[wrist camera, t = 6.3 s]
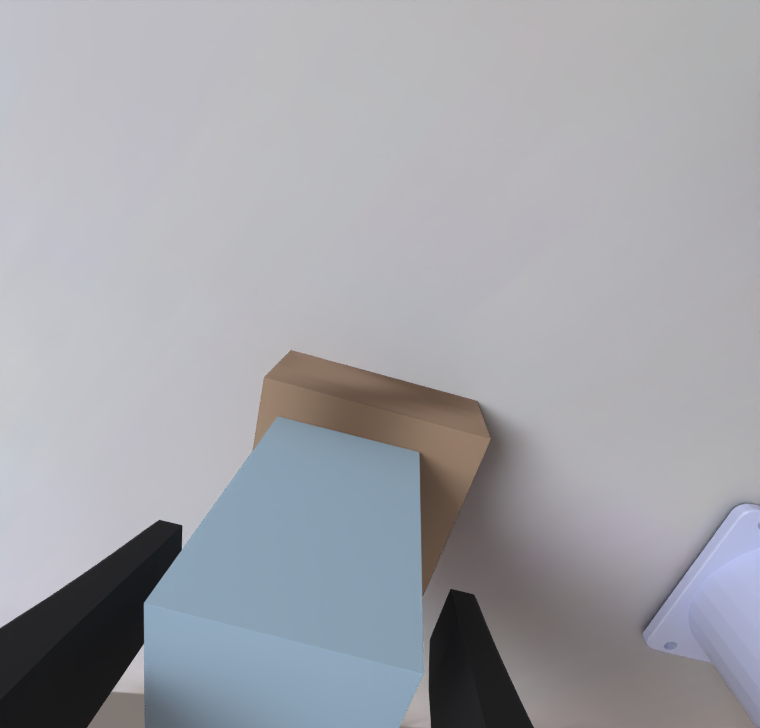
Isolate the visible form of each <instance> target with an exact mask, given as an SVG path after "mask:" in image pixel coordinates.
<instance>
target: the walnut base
mask: <svg viewBox="0 0 760 728" xmlns="http://www.w3.org/2000/svg"><path fill="white" fill-rule="evenodd" d="M277 416H278V417H282V418H286V419H290V420H294V421H298V422H302V423H306V424H310V425H314V426H318V427H322V428H326V429H330V430H334V431H338V432H342V433H346V434H349V435H353V436H357V437H361V438H365V439H369V440H373V441H377V442H381V443H385V444H389V445H393V446H397V447H401V448H405V449H409V450H413V451H417V452H419V459H420V511H421V563H422V597H423V595H424V592H425V590H426V588H427V585H428V583H429V581H430V578H431V576H432V574H433V572H434V569H435V567H436V565H437V562H438V560H439V558H440V555H441V553H442V551H443V548H444V546H445V544H446V541H447V539H448V537H449V535H450V532H451V530H452V528H453V525H454V523H455V521H456V518H457V516H458V514H459V511H460V509H461V507H462V505H463V502H464V500H465V498H466V495H467V493H468V491H469V488H470V486H471V484H472V481H473V479H474V477H475V474H476V472H477V470H478V468H479V465H480V463H481V461H482V458H483V456H484V454H485V451H486V449H487V447H488V444H489V442H490V440H491V438H490V435H489V433H488V430H487V427H486V424H485V422H484V419H483V416H482V413H481V411H480V408H479V405H478V402H477V401H475V400H472V399H468V398H464V397H461V396H457V395H453V394H450V393H446V392H442V391H439V390H435V389H431V388H428V387H424V386H420V385H417V384H413V383H409V382H406V381H402V380H398V379H395V378H391V377H387V376H384V375H380V374H376V373H373V372H369V371H365V370H362V369H358V368H354V367H351V366H347V365H343V364H340V363H336V362H332V361H329V360H325V359H321V358H318V357H314V356H311V355H307V354H303V353H300V352H296V351H292V350H291V351H290V352H289V353H288V354H287V355H286V356H285V357H284V358H283V359H282V360H281V361H280V362H279V363H278V364H277V365H276V366H275V367H274V368H273V369H272V370H271V371H270V372H269V373H268V374H267V375H266V376H265V377H264V381H263V388H262V394H261V401H260V407H259V414H258V420H257V427H256V433H255V439H254V446H253V450H254V449H255V447H256V446H257V444H258V443H259V442H260V440H261V439H262V437H263V436H264V435H265V433H266V432H267V430H268V429H269V428H270V426H271V425H272V423H273V422H274V421H275V419H276V418H277Z"/></svg>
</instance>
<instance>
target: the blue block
mask: <svg viewBox="0 0 760 728" xmlns="http://www.w3.org/2000/svg"><path fill="white" fill-rule="evenodd" d="M423 674H424V667H423V615H422V563H421V511H420V459H419V452H417V451H413V450H409V449H405V448H401V447H397V446H393V445H389V444H385V443H381V442H377V441H373V440H369V439H365V438H361V437H357V436H353V435H349V434H346V433H342V432H338V431H334V430H330V429H326V428H322V427H318V426H314V425H310V424H306V423H302V422H298V421H294V420H290V419H286V418H282V417H278V416H277V418H276V419H275V421H274V422H273V423H272V425H271V426H270V428H269V429H268V430H267V432H266V433H265V435H264V436H263V437H262V439H261V440H260V442H259V443H258V444H257V446H256V447H255V449H254V450H253V451H252V453H251V454H250V456H249V457H248V458H247V460H246V461H245V463H244V464H243V465H242V467H241V468H240V470H239V471H238V472H237V474H236V475H235V477H234V478H233V479H232V481H231V482H230V483H229V485H228V486H227V488H226V489H225V490H224V492H223V493H222V495H221V496H220V497H219V499H218V500H217V502H216V503H215V504H214V506H213V507H212V509H211V510H210V511H209V513H208V514H207V516H206V517H205V518H204V520H203V521H202V523H201V524H200V525H199V527H198V528H197V530H196V531H195V532H194V534H193V535H192V537H191V538H190V539H189V541H188V542H187V544H186V545H185V546H184V548H183V549H182V551H181V552H180V553H179V555H178V556H177V557H176V559H175V560H174V562H173V563H172V564H171V566H170V567H169V569H168V570H167V571H166V573H165V574H164V576H163V577H162V578H161V580H160V581H159V583H158V584H157V585H156V587H155V588H154V590H153V591H152V592H151V594H150V595H149V597H148V598H147V599H146V601H145V602H144V695H145V728H399V727H400V724H401V722H402V720H403V718H404V716H405V713H406V711H407V709H408V707H409V705H410V702H411V700H412V698H413V696H414V694H415V692H416V689H417V687H418V685H419V683H420V681H421V678H422V676H423Z"/></svg>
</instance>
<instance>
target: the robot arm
mask: <svg viewBox="0 0 760 728" xmlns="http://www.w3.org/2000/svg"><path fill="white" fill-rule="evenodd" d="M181 551H182V525H179V524H174V523H170V522H166V521H162V520H159V521H157V522H155V523H154V524H153V525H151V526H150V527H148V528H147V529H146V530H144V531H143V532H141V533H140V534H139V535H137V536H136V537H135V538H133V539H132V540H130V541H129V542H128V543H126V544H125V545H123V546H122V547H121V548H119V549H118V550H117V551H115V552H114V553H112V554H111V555H109V556H108V557H107V558H105V559H104V560H102V561H101V562H100V563H98V564H97V565H95V566H94V567H92V568H91V569H89V570H88V571H87V572H85V573H84V574H82V575H81V576H79V577H78V578H76V579H75V580H73V581H72V582H70V583H69V584H68V585H66V586H65V587H63V588H62V589H60V590H59V591H57V592H56V593H54V594H53V595H51V596H50V597H48V598H47V599H45V600H43V601H42V602H40V603H39V604H37V605H36V606H34V607H33V608H31V609H29V610H28V611H26V612H25V613H23V614H22V615H20V616H18V617H17V618H15V619H14V620H12V621H11V622H9V623H8V624H6V625H4V626H3V627H1V628H0V728H87V727H88V725H89V724H90V722H91V721H92V719H93V718H94V716H95V715H96V713H97V712H98V710H99V709H100V707H101V706H102V705H103V703H104V702H105V700H106V699H107V697H108V696H109V694H110V693H111V691H112V690H113V688H114V687H115V685H116V684H117V682H118V681H119V680H120V678H121V677H122V675H123V674H124V672H125V671H126V669H127V668H128V666H129V665H130V663H131V662H132V660H133V659H134V657H135V656H136V654H137V653H138V651H139V650H140V649H141V647H142V646H143V644H144V602H145V601H146V599H147V598H148V597H149V595H150V594H151V592H152V591H153V590H154V588H155V587H156V585H157V584H158V583H159V581H160V580H161V578H162V577H163V576H164V574H165V573H166V571H167V570H168V569H169V567H170V566H171V564H172V563H173V562H174V560H175V559H176V557H177V556H178V555H179V553H180V552H181ZM642 637H643V639H644V641H645V643H646V645H647V646H648V647H649V648H651V649H654V650H657V651H662V652H666V653H670V654H674V655H679V656H683V657H687V658H691V659H695V660H700V661H704V662H708V663H712V664H713V665H714V667H715V668H716V670H717V671H718V672H719V674H720V675H721V677H722V678H723V680H724V681H725V683H726V684H727V686H728V687H729V689H730V690H731V691H732V693H733V694H734V696H735V697H736V699H737V700H738V702H739V703H740V705H741V706H742V708H743V709H744V710H745V712H746V713H747V715H748V716H749V718H750V719H751V721H752V722H753V724H754V725H755V727H756V728H760V506H758V505H754V504H742V505H739V506H737V507H735V508H734V509H733V510H732V511H731V512H730V514H729V515H728V516H727V518H726V519H725V521H724V522H723V523H722V525H721V526H720V527H719V529H718V530H717V532H716V533H715V534H714V536H713V537H712V538H711V540H710V541H709V543H708V544H707V545H706V547H705V548H704V549H703V551H702V552H701V554H700V555H699V556H698V558H697V559H696V560H695V562H694V563H693V564H692V566H691V567H690V569H689V570H688V571H687V573H686V574H685V575H684V577H683V578H682V580H681V581H680V582H679V584H678V585H677V586H676V588H675V589H674V591H673V592H672V593H671V595H670V596H669V597H668V599H667V600H666V602H665V603H664V604H663V606H662V607H661V608H660V610H659V611H658V613H657V614H656V615H655V617H654V618H653V619H652V621H651V622H650V624H649V625H648V626H647V628H646V629H645V630H644V632H643V635H642ZM429 700H430V716H431V728H534V727H533V725H532V723H531V721H530V719H529V717H528V715H527V713H526V711H525V709H524V707H523V705H522V702H521V700H520V698H519V696H518V694H517V692H516V690H515V688H514V685H513V683H512V681H511V679H510V677H509V675H508V673H507V670H506V668H505V666H504V664H503V661H502V659H501V657H500V655H499V652H498V650H497V648H496V645H495V643H494V641H493V638H492V636H491V634H490V631H489V629H488V627H487V624H486V622H485V619H484V617H483V614H482V612H481V610H480V607H479V605H478V602H477V600H476V598H475V596H474V594H470V593H465V592H461V591H457V590H453V589H450V592H449V594H448V597H447V599H446V601H445V604H444V606H443V609H442V611H441V614H440V616H439V619H438V621H437V623H436V626H435V628H434V631H433V633H432V636H431V638H430V654H429Z"/></svg>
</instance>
